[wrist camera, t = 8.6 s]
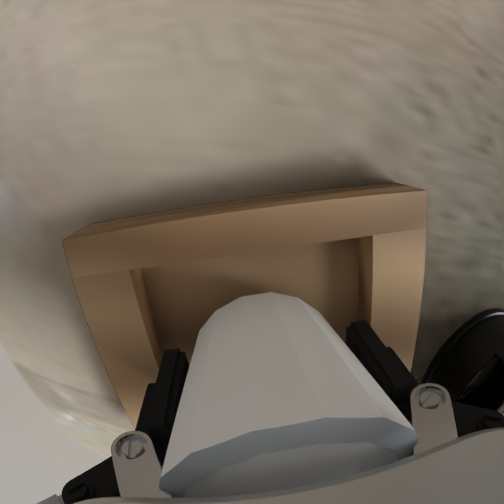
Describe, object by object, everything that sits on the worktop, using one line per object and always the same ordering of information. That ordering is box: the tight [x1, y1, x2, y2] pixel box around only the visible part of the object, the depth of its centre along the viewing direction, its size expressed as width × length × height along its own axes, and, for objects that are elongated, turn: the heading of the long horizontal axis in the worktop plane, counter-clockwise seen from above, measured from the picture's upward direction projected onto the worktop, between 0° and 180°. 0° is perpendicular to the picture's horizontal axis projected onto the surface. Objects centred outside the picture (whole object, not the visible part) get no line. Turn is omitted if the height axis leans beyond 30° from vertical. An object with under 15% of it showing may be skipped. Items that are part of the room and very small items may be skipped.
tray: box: [62, 183, 427, 429], centre depth 14 cm, size 12×14×2 cm
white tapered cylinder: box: [159, 292, 419, 498], centre depth 9 cm, size 7×7×7 cm
